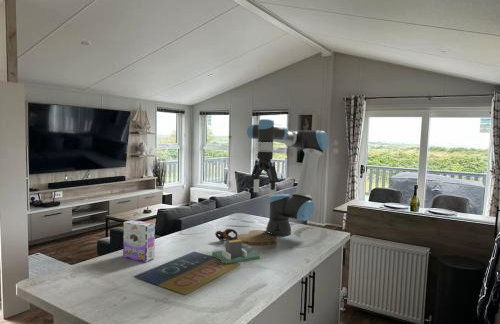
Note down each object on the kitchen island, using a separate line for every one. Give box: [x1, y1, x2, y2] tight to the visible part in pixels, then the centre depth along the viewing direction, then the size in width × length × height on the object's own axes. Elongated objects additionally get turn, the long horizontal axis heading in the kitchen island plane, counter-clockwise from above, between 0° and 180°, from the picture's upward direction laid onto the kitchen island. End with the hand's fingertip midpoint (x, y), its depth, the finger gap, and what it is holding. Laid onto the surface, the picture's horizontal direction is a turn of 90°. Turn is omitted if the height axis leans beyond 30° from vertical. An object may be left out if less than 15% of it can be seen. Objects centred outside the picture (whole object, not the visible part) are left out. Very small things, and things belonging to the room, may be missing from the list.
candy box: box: [122, 219, 156, 263], centre depth 152 cm, size 14×6×16 cm, turn 65°
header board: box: [212, 243, 261, 264], centre depth 160 cm, size 18×14×4 cm
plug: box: [225, 238, 243, 258], centre depth 156 cm, size 6×4×8 cm, turn 121°
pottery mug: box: [214, 228, 239, 242], centre depth 180 cm, size 12×10×8 cm
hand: (263, 194), depth 166 cm, fingers open, 13 cm apart
